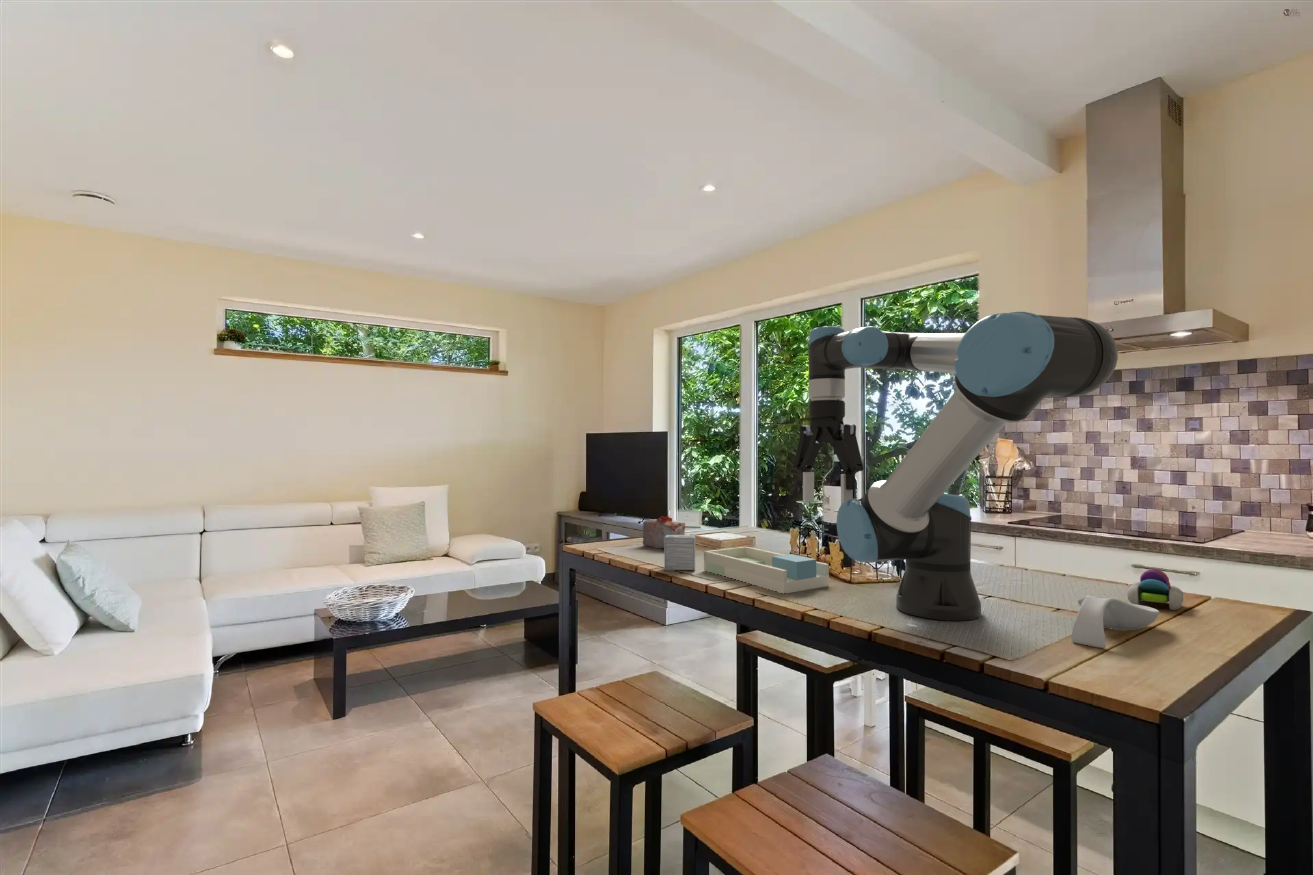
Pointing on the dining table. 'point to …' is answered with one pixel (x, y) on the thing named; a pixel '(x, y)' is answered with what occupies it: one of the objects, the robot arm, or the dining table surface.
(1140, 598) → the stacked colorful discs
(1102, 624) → the spoon rest
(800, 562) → the block
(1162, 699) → the dining table surface
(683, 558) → the grey upright rectangular block
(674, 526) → the gift box with bow
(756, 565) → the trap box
